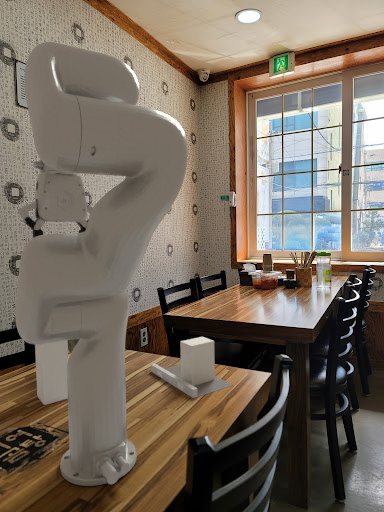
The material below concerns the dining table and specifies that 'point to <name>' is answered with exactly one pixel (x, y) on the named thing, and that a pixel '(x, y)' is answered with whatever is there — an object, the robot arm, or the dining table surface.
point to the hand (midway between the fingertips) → (62, 248)
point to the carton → (197, 360)
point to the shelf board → (174, 378)
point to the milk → (51, 371)
